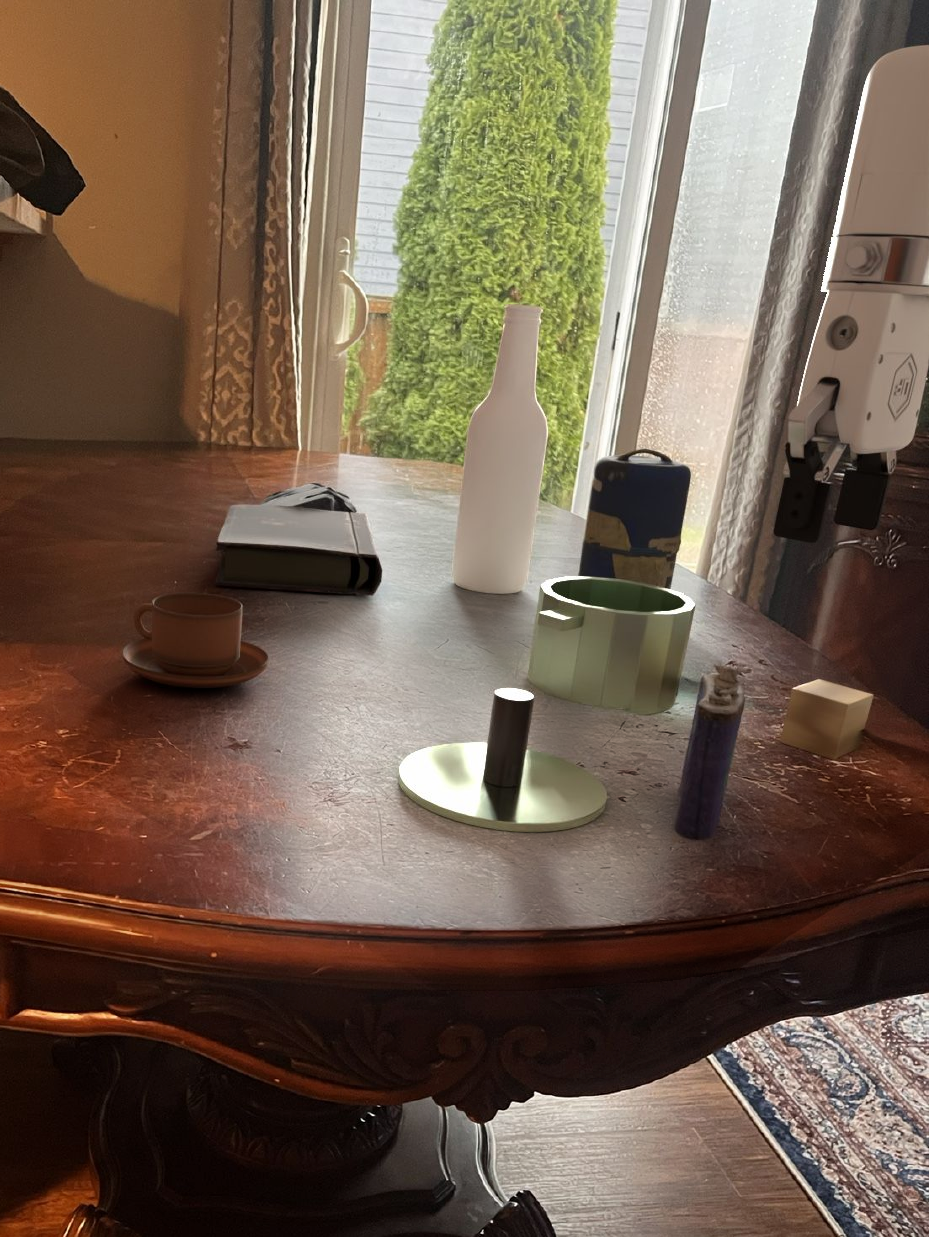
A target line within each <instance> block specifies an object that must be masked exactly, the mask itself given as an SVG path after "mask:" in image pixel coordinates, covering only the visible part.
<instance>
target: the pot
mask: <svg viewBox="0 0 929 1237" xmlns="http://www.w3.org/2000/svg"><path fill="white" fill-rule="evenodd" d="M538 592H539V593H538V599H537V606H536V612H535V613H536V614H535V618H534V619H535V620H534V626H533V634H532V639H531V647H530V654H529V660H528V668H527V674H526V675H527V678H528V680H529V683H530V684H531V685H533V686H534V687H536V688H537V689H539V690H541V691H542V692H543V693H545V694H548V695H551V696H554V697H556V698H559V699H562V700H566V701H567V702H571V703H577V704H581V705H587V706H592V707H596V708H604V709H616V710H623V711H626V712H629V713H632V714H635V715H638V716H646V715H654V714H658V713H662V712H663V713H664V712H665V711H667V710H669V709H672V708H673V706H675V703H676V698H677V697H678V694H679V689H680V684H681V679H682V675H683V669H684V664H685V660H686V655H687V649H688V644H689V639H690V635H691V631H692V630H691V629H692V624H693V620H694V616H695V610H696V603H695V602H694V601H693V600H692V599H691V598H690V597H689V596H686V594H685V593H684V592H680V591H675V590H672V589H666V588H662V587H658V586H654V585H650V584H646V583H641V582H634V581H628V580H622V579H612V578H600V577H578V576H564V577H557V578H553V579H547V580H546V581H545V582H543V583H542V584H540V586H539V591H538Z"/></svg>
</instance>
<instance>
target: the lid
mask: <svg viewBox="0 0 929 1237" xmlns="http://www.w3.org/2000/svg"><path fill="white" fill-rule="evenodd" d="M534 704H535V696H534V694H533V693H531V692H529V691H527V690H523V689H520V688H511V687H506V688H505V687H504V688H498V689H496V690H495V691H494V692H493V698H492V704H491V705H492V707H491V714H490V721H489V726H488V727H489V728H488V737H487V742H455V743H445V744H440V745H434V746H430V747H426V748H423V749H420V750H418V751H415V752H413V753H411V754H409V755H408V756H406V757H405V758H404V760H403V761H402V762H401V764H400V765H399V768H398V775H397V776H398V777H397V779H398V780H397V781H398V784H399V787H400V789H401V791H402V792H403V793H404V794H405V795H406V797H408V798H409V799H410V800H411V801H413V802H414V803H415V804H417V805H419V806H420V807H422V808H424V809H426V810H428V811H430V812H432V813H434V814H436V815H438V816H441V817H444V818H447V819H449V820H453V821H455V822H460V823H463V824H467V825H470V826H474V827H480V828H483V829H490V830H497V831H505V832H518V833H545V832H546V833H547V832H558V831H565V830H569V829H573V828H578V827H581V826H584V825H586V824H588V823H592V821H595V820H596V819H597V818H599V817H600V816H601V814H603V812H604V810H605V808H606V805H607V801H608V800H607V799H608V792H607V789H606V788H605V785H604V784H603V783H602V782H601V780H600V779H599V778H598V777H597V776H595V775H594V774H593V773H592V772H590V771H589V770H587V769H585V768H583V767H581V766H580V765H578V764H576V763H575V762H572V761H569V760H567V759H565V758H561V757H559V756H556V755H553V754H550V753H547V752H544V751H539V750H536V749H532V748H528V745H529V738H530V730H531V724H532V717H533V711H534Z"/></svg>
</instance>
